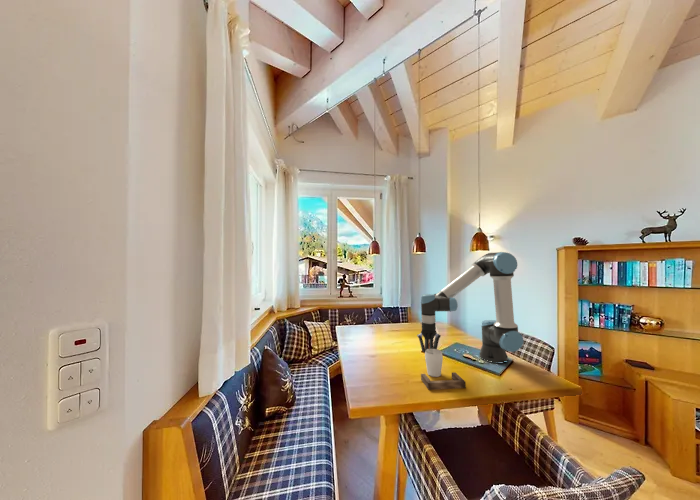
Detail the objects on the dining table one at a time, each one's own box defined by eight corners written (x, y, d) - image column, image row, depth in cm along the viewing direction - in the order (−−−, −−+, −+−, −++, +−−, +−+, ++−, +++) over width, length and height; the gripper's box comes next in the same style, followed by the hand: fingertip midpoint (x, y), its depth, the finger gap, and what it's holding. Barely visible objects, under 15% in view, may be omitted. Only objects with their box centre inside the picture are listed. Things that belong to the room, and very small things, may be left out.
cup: (444, 378, 131) (443, 355, 132) (426, 377, 133) (425, 354, 133) (441, 371, 140) (441, 349, 140) (424, 370, 142) (424, 348, 142)
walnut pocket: (455, 378, 131) (455, 372, 132) (465, 388, 121) (465, 381, 122) (421, 379, 130) (421, 373, 130) (428, 389, 120) (428, 383, 120)
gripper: (437, 320, 148) (438, 361, 147) (414, 320, 147) (415, 362, 146) (442, 323, 140) (443, 367, 139) (419, 324, 140) (420, 368, 139)
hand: (429, 364), depth 143 cm, fingers closed
